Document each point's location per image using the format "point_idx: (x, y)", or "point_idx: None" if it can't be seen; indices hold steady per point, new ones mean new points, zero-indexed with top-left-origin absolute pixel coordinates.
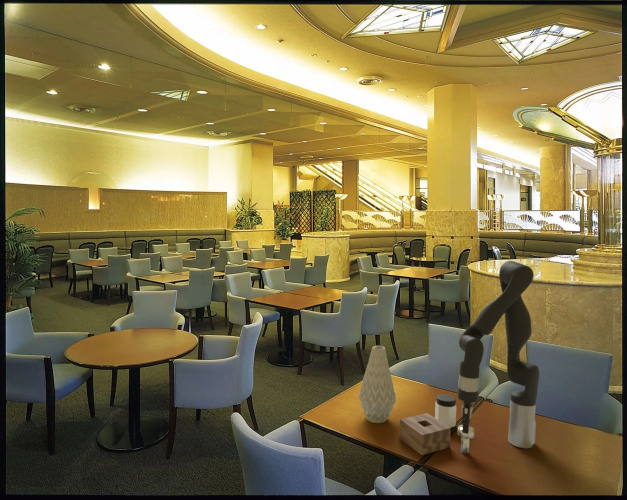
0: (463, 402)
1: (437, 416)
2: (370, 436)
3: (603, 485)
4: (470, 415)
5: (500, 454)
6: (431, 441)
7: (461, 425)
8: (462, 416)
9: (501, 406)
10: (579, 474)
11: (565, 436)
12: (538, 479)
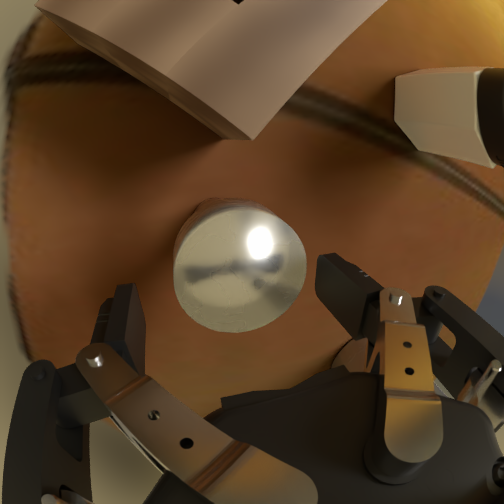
0: (406, 472)
1: (430, 72)
2: None
3: None
4: (161, 472)
5: (266, 338)
6: (105, 51)
7: (282, 235)
8: (10, 437)
9: (495, 264)
10: None
11: None
12: None
